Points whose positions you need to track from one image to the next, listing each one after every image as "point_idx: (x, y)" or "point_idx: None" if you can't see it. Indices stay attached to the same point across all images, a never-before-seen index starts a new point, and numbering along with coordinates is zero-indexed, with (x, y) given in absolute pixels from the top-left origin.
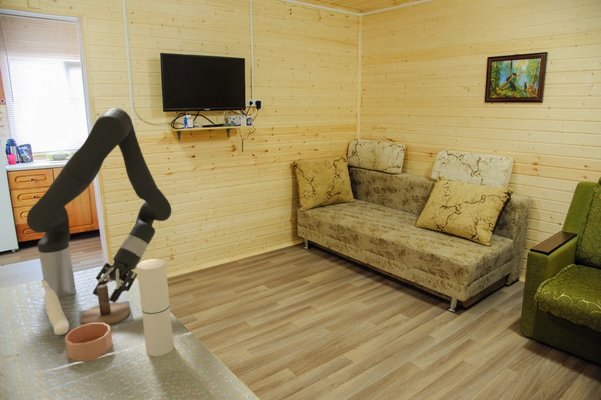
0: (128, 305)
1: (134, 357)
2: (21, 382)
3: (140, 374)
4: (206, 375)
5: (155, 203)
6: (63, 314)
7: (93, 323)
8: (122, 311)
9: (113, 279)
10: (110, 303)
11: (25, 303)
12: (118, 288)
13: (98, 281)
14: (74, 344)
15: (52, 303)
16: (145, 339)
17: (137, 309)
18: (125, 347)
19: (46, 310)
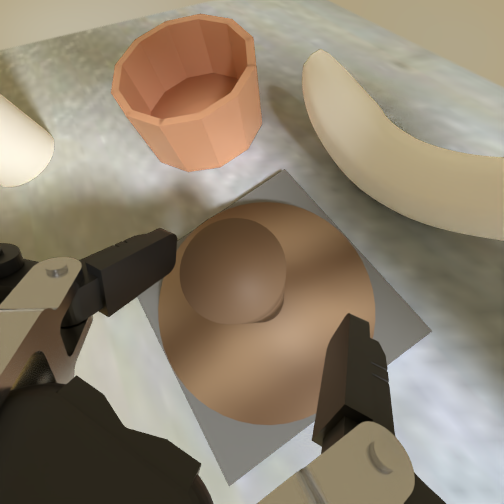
0: (204, 418)
1: (77, 117)
2: (288, 7)
3: (51, 77)
4: None
5: None
6: (428, 195)
7: (196, 113)
8: (187, 321)
9: (105, 398)
10: (297, 410)
11: None
12: (57, 259)
13: (392, 441)
14: (191, 16)
15: None
16: (4, 97)
17: (154, 389)
18: (111, 145)
19: None
